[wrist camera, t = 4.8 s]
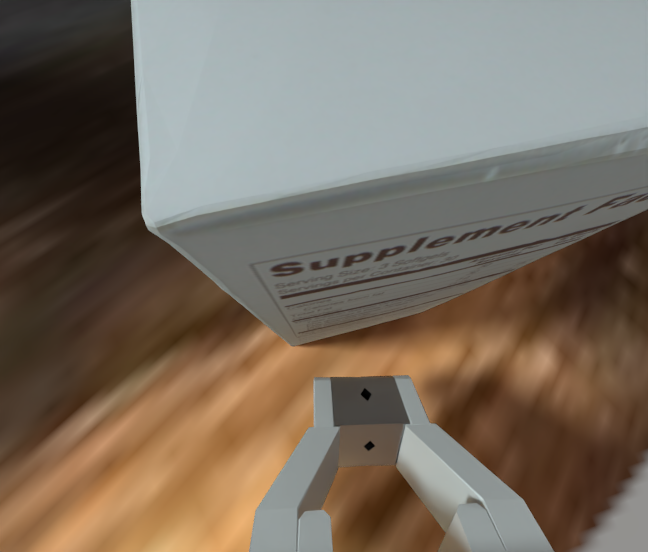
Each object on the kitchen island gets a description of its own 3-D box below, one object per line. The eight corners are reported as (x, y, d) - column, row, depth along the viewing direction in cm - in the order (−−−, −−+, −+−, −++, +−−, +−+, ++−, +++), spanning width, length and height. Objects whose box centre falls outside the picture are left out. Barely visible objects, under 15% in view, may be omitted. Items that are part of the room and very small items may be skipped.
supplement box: (263, 224, 16) (103, -227, 4) (382, 201, 17) (563, -230, 5) (287, 351, 13) (88, 235, 2) (424, 317, 14) (992, 69, 2)
